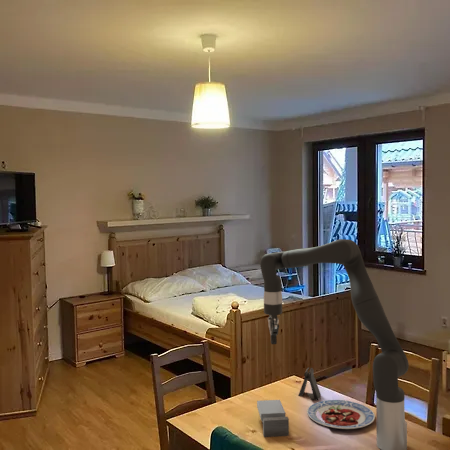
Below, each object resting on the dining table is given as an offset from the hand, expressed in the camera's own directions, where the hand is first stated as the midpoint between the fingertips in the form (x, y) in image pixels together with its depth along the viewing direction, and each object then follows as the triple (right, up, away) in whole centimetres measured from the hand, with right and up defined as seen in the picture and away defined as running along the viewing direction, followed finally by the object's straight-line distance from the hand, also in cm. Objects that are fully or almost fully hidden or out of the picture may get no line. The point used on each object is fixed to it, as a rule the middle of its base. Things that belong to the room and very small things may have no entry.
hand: (273, 343), depth 204 cm
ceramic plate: (+25, -27, -9) cm, 38 cm away
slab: (-2, -23, -15) cm, 27 cm away
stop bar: (-1, -28, -24) cm, 37 cm away
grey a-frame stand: (+17, -26, +13) cm, 34 cm away
